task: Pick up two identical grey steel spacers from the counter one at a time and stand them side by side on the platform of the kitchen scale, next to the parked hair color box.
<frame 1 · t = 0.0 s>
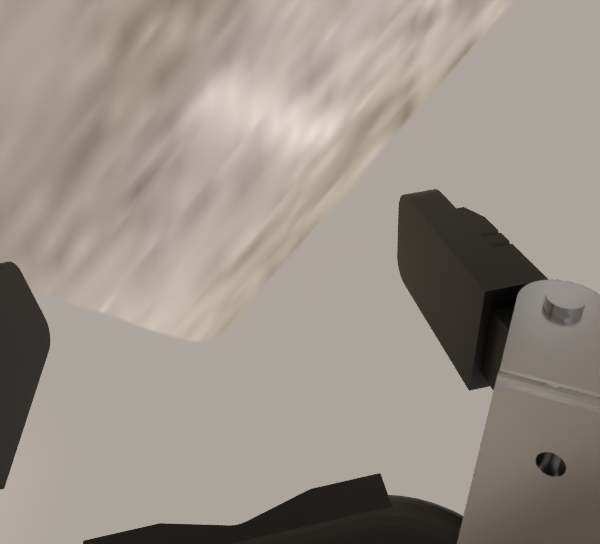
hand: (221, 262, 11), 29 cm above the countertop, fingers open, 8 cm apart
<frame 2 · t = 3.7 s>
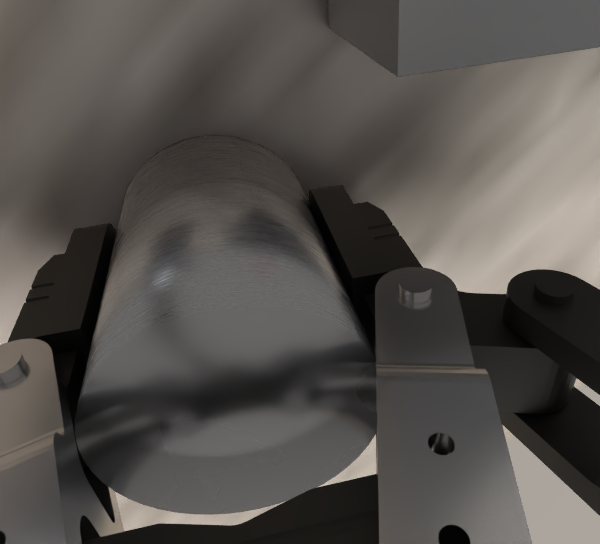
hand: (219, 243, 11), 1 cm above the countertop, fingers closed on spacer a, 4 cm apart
spacer a: (218, 224, 12), on the countertop, touching gripper
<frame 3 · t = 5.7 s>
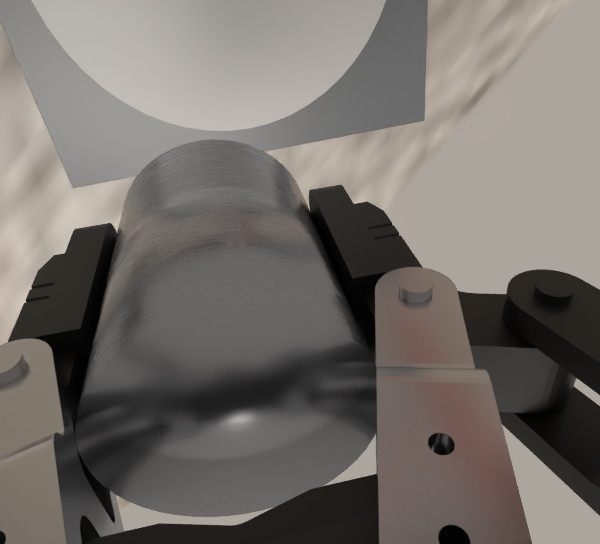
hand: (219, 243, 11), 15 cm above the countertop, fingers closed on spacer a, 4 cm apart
spacer a: (217, 227, 12), point 15 cm above the countertop, touching gripper
when the fingers open (7 cm above the countertop, at t = 7.8 s): spacer a stays where it is, resting on scale.
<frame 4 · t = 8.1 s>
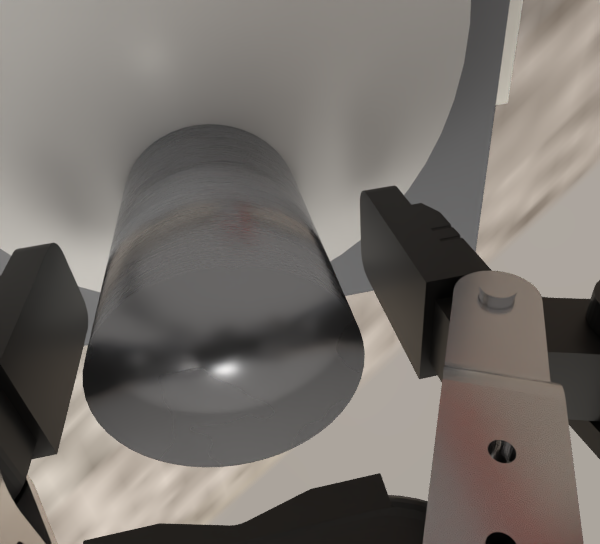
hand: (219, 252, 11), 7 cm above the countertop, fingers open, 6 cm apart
scale: (185, 26, 15), on the countertop
spacer a: (213, 209, 13), point 5 cm above the countertop, touching scale
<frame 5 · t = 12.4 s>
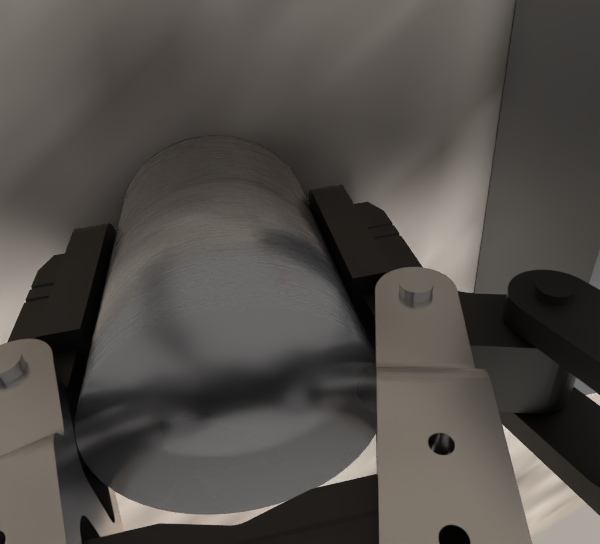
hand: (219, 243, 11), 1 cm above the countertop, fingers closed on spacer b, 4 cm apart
spacer b: (218, 224, 12), on the countertop, touching gripper
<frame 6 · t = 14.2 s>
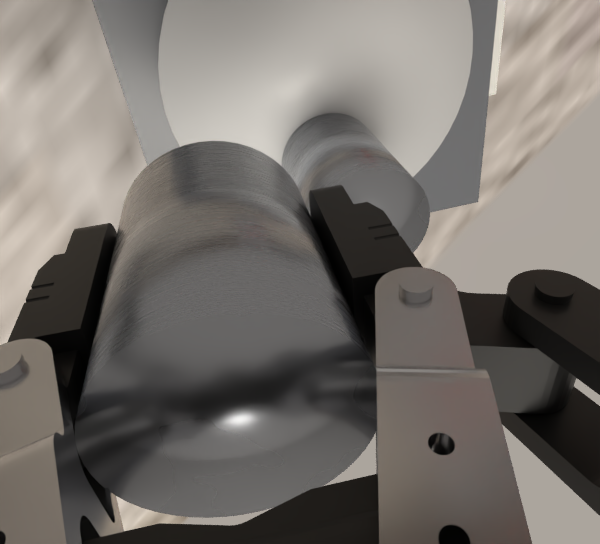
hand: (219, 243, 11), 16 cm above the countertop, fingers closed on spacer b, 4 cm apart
scale: (299, 54, 24), on the countertop
spacer b: (217, 229, 12), point 15 cm above the countertop, touching gripper
spacer a: (329, 161, 23), point 5 cm above the countertop, touching scale
when the fingers open (7 cm above the countertop, at t = 16.5 s): spacer b stays where it is, resting on scale.
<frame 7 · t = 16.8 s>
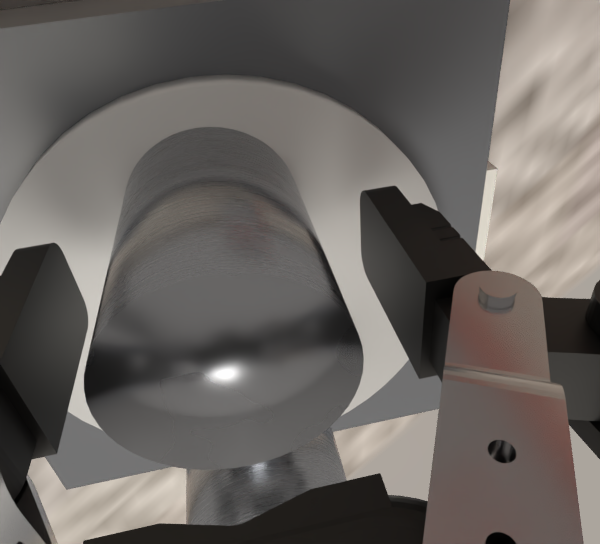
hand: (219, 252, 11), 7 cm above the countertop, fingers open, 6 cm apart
scale: (226, 228, 19), on the countertop
spacer b: (214, 211, 13), point 5 cm above the countertop, touching scale
spacer a: (253, 391, 17), point 5 cm above the countertop, touching scale
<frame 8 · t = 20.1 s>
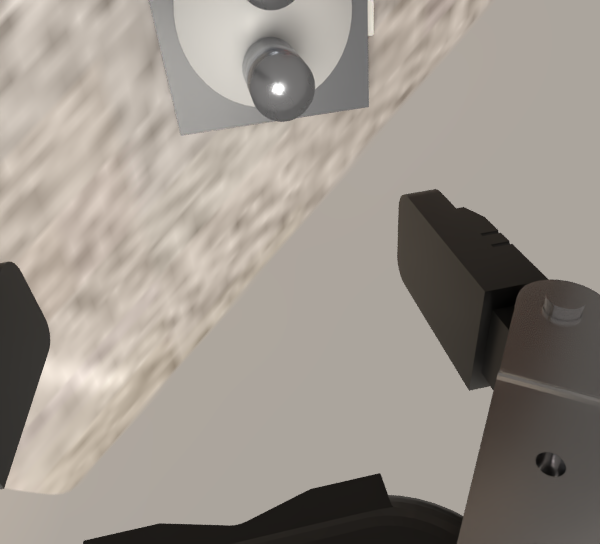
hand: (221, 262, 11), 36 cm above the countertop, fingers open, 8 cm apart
scale: (257, 8, 40), on the countertop
spacer a: (270, 68, 38), point 5 cm above the countertop, touching scale
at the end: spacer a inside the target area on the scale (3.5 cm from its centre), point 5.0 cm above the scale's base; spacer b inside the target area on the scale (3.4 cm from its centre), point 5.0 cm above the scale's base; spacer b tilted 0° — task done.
